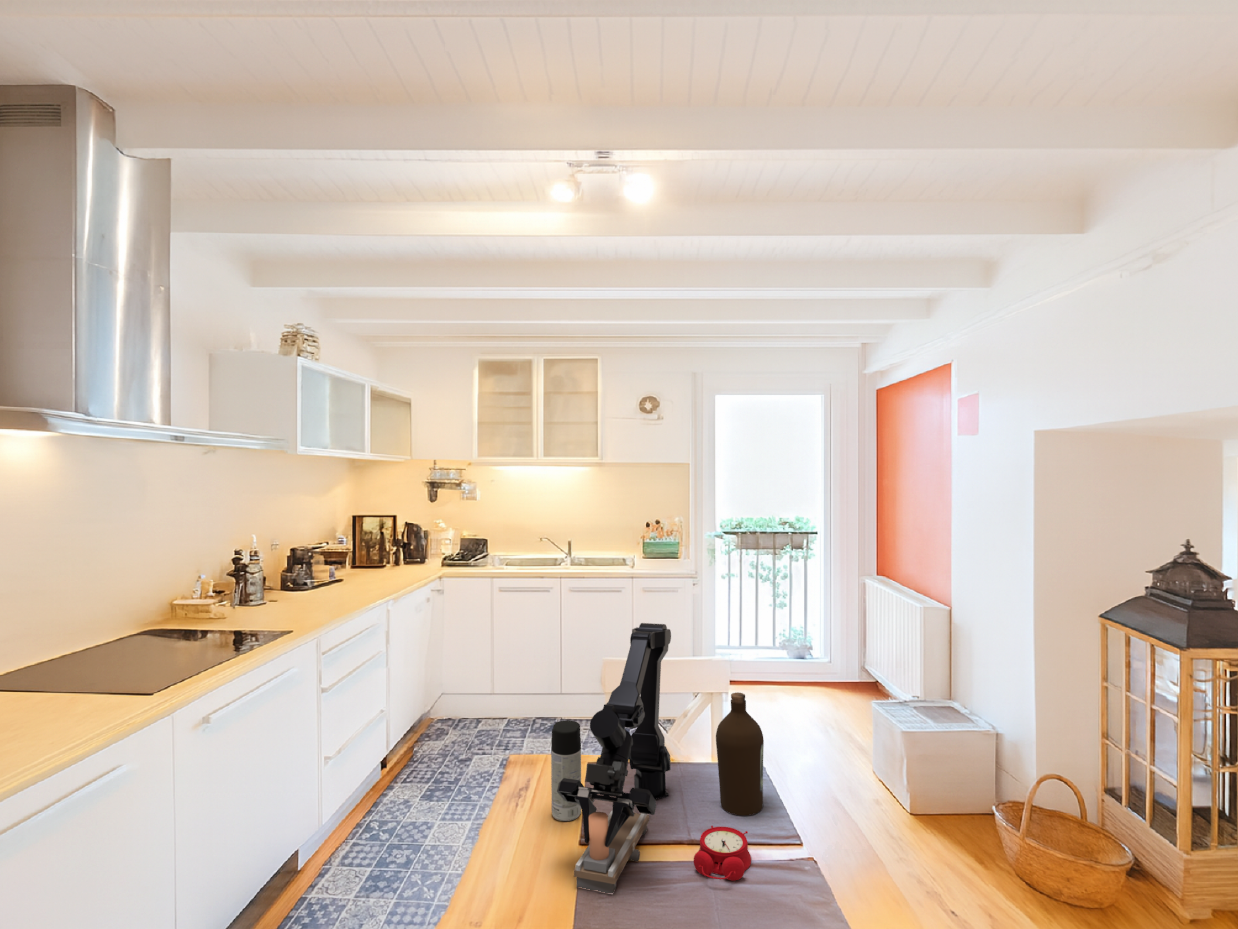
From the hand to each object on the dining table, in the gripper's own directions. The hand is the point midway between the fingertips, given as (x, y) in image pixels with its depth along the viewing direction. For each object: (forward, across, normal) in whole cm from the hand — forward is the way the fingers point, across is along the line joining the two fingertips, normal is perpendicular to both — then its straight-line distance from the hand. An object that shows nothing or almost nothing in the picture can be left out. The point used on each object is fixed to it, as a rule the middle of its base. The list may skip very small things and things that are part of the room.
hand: (596, 845), depth 121 cm
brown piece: (-1, 0, +12) cm, 12 cm away
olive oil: (-20, +21, +31) cm, 42 cm away
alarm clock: (-4, +21, +15) cm, 26 cm away
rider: (+2, 0, +4) cm, 4 cm away
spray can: (-10, -16, +20) cm, 28 cm away
